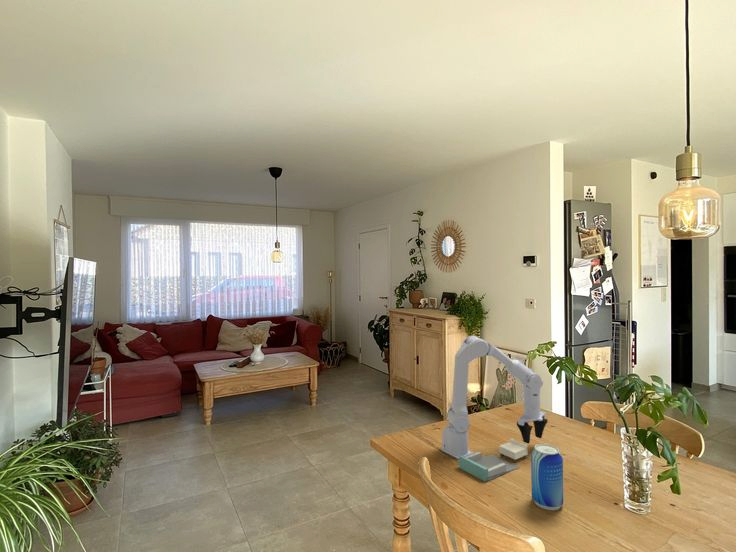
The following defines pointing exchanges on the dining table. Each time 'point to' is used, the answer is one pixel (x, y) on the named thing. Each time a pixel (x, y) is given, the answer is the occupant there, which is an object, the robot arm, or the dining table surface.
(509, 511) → the dining table surface
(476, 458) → the dock
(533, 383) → the robot arm
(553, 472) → the beer can
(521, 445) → the cream notched block
